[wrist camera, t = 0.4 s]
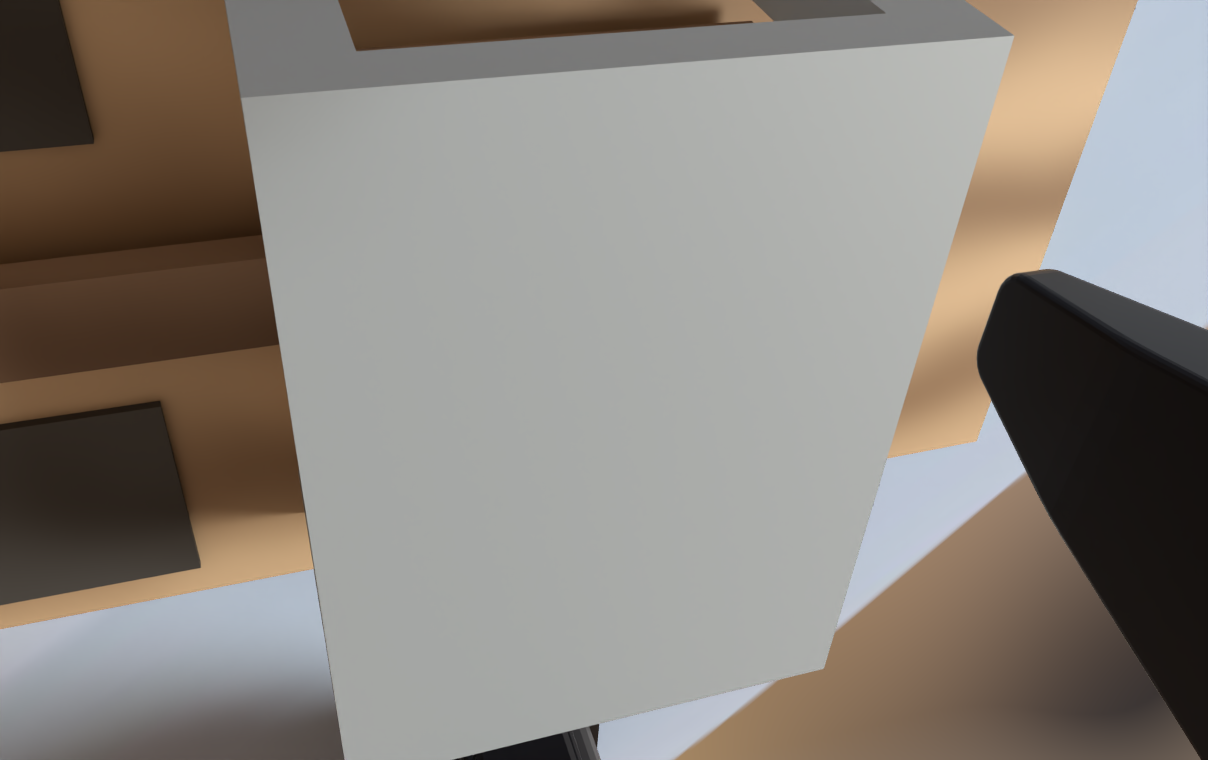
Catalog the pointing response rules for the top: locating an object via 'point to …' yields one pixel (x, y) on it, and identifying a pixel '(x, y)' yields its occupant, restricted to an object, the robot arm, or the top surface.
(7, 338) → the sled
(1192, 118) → the top surface
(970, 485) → the top surface
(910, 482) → the top surface
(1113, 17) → the base board
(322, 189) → the grey small table
